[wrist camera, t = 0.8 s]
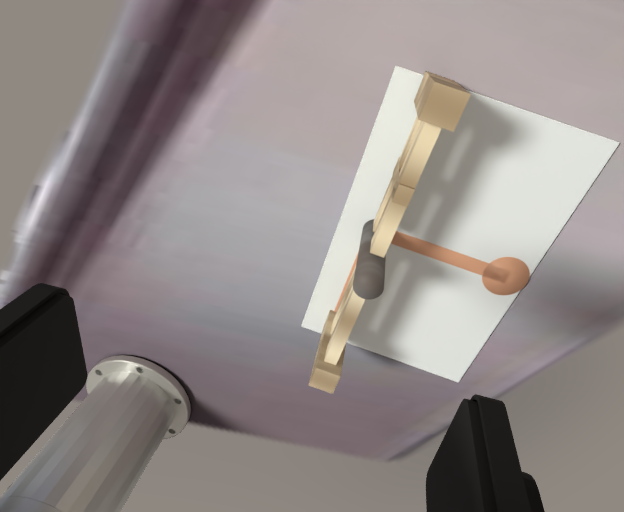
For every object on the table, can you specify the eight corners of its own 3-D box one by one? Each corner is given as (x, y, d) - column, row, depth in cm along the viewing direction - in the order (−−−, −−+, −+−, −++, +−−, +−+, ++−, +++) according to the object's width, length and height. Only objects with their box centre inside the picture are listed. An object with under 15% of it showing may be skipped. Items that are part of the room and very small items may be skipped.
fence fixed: (343, 331, 40) (330, 403, 32) (324, 324, 40) (306, 394, 32) (390, 223, 34) (388, 279, 26) (367, 214, 34) (358, 268, 26)
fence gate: (392, 222, 33) (390, 267, 27) (368, 213, 33) (361, 257, 27) (454, 80, 28) (471, 94, 21) (425, 71, 28) (434, 81, 21)
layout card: (459, 381, 40) (459, 383, 40) (301, 325, 40) (301, 326, 40) (620, 142, 28) (621, 143, 28) (395, 65, 29) (395, 65, 28)
